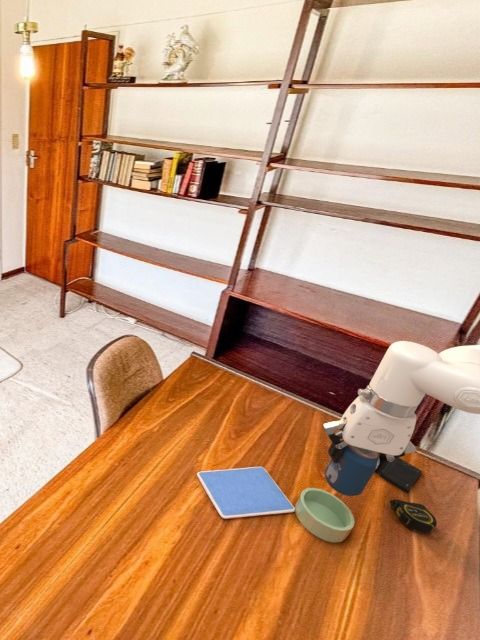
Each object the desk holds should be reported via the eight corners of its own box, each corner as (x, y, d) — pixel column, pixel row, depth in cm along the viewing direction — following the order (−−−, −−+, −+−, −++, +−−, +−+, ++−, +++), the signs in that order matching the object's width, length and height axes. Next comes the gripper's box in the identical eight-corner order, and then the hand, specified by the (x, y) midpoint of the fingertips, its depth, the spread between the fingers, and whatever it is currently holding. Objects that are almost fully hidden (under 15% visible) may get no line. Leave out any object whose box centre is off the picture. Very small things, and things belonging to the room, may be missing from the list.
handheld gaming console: (421, 493, 99) (404, 454, 101) (384, 491, 104) (368, 453, 106) (423, 472, 107) (408, 436, 108) (389, 471, 112) (375, 436, 113)
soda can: (366, 490, 87) (389, 452, 82) (351, 504, 84) (374, 465, 79) (331, 466, 93) (351, 429, 87) (316, 479, 89) (336, 441, 84)
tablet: (261, 468, 106) (263, 465, 106) (296, 513, 95) (297, 509, 95) (194, 474, 104) (196, 471, 104) (221, 521, 93) (223, 517, 92)
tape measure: (418, 512, 97) (425, 502, 95) (437, 540, 91) (445, 529, 89) (386, 505, 98) (393, 495, 96) (403, 532, 92) (410, 522, 90)
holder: (351, 522, 94) (359, 510, 92) (340, 552, 87) (348, 540, 85) (302, 491, 101) (308, 480, 99) (288, 517, 94) (294, 505, 92)
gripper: (345, 402, 77) (312, 465, 84) (456, 426, 72) (410, 490, 80) (331, 378, 83) (302, 438, 91) (432, 398, 78) (392, 460, 86)
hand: (353, 462), depth 85 cm, fingers closed on soda can, 7 cm apart
